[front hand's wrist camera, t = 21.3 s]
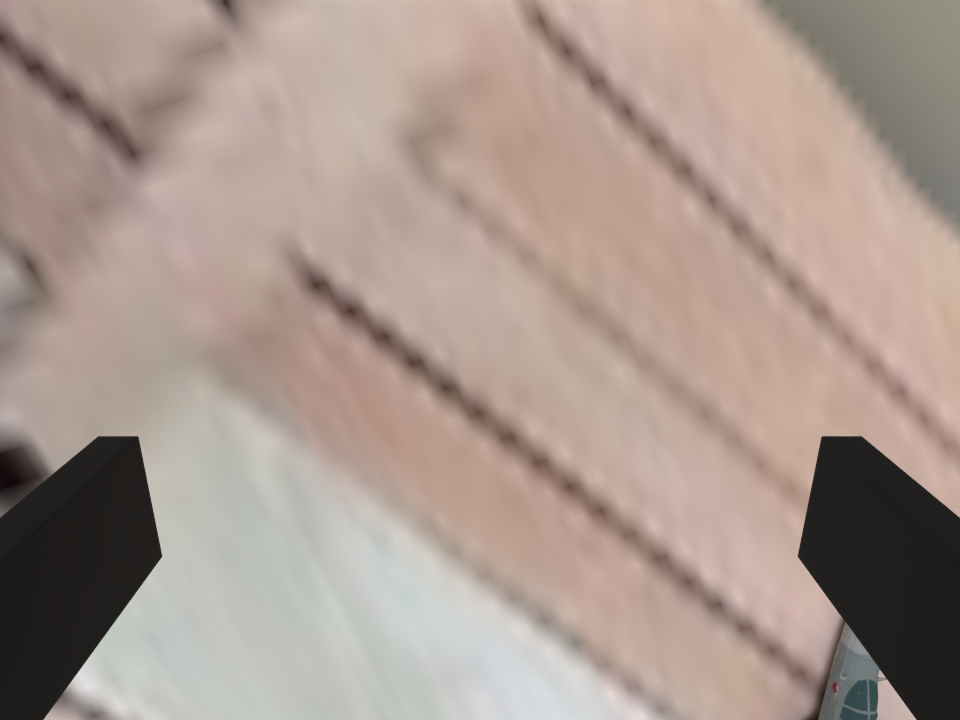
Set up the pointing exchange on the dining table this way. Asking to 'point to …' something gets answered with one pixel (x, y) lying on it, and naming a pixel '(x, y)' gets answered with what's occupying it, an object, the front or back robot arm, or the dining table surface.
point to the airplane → (851, 682)
